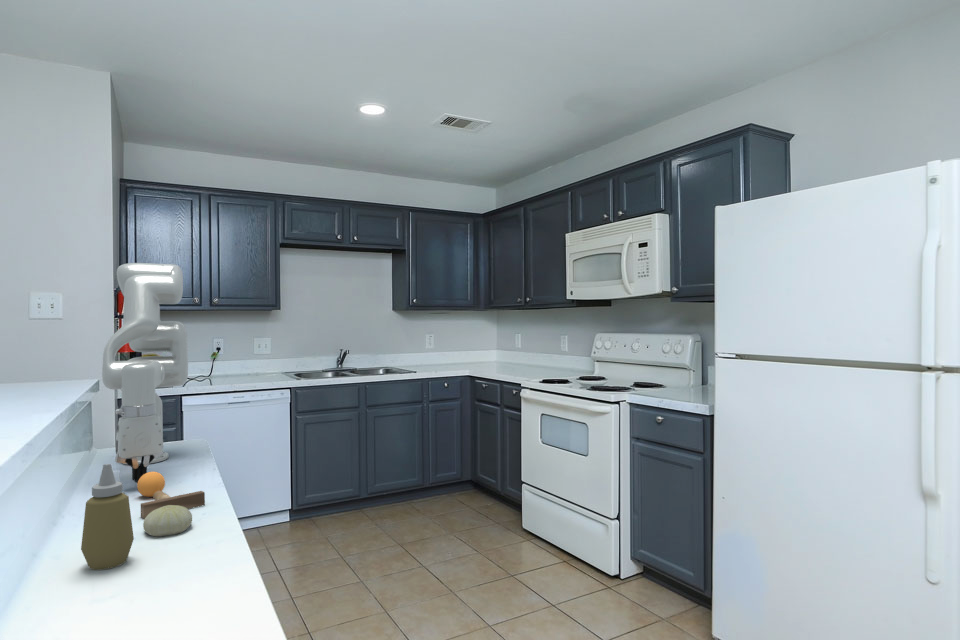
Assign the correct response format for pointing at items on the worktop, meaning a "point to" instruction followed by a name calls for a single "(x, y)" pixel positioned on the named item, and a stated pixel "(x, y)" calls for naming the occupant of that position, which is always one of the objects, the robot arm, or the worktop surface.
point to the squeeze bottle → (107, 524)
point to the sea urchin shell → (167, 520)
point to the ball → (150, 483)
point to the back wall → (174, 502)
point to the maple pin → (160, 495)
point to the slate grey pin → (116, 475)
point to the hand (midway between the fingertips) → (139, 482)
